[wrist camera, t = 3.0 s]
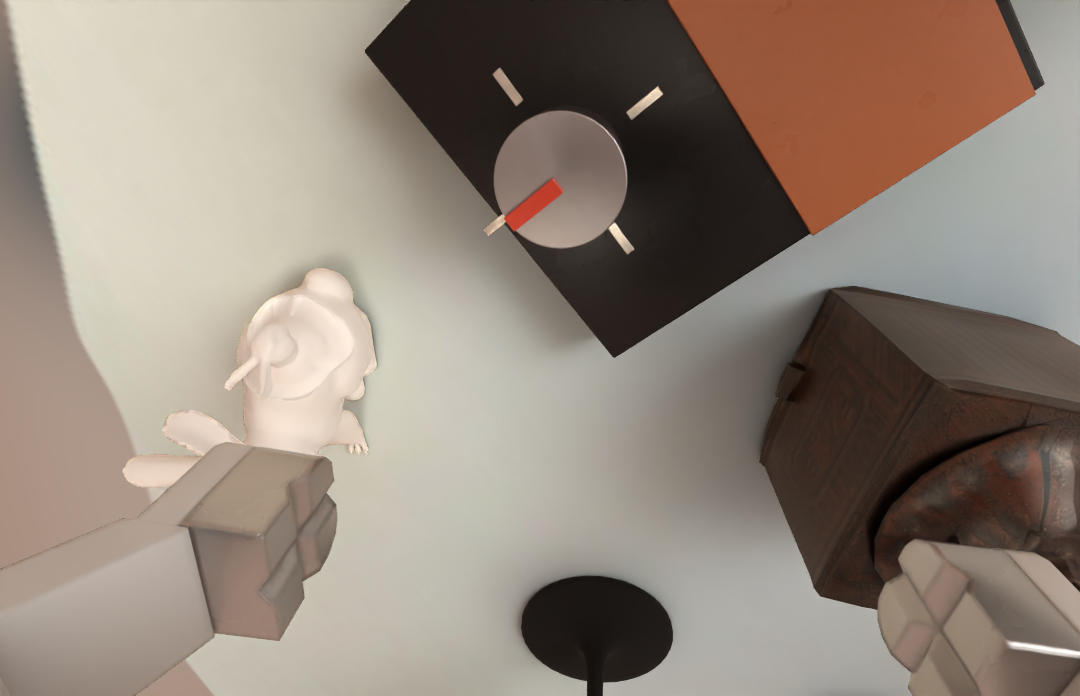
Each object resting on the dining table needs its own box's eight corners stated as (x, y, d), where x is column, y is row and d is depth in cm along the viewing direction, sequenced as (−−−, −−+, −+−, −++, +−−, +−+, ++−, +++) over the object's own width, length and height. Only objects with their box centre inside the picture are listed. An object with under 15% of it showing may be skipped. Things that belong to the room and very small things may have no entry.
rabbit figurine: (369, 457, 33) (285, 590, 24) (247, 423, 33) (119, 545, 24) (395, 274, 28) (299, 363, 19) (250, 233, 27) (86, 303, 19)
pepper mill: (816, 276, 25) (1184, 615, 9) (1054, 323, 25) (1855, 755, 9) (712, 521, 32) (818, 958, 16) (897, 560, 32) (1191, 1042, 16)
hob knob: (577, 78, 20) (571, 78, 16) (646, 176, 21) (655, 197, 17) (489, 156, 22) (464, 173, 18) (557, 243, 23) (548, 276, 19)
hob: (786, -366, 17) (822, -455, 14) (991, 83, 21) (1049, 84, 19) (378, 67, 23) (347, 66, 21) (600, 340, 28) (599, 369, 25)
